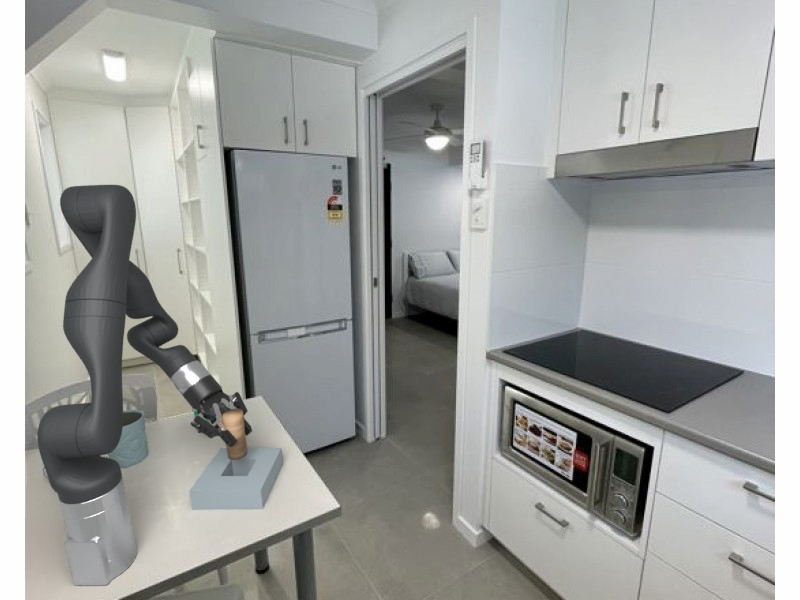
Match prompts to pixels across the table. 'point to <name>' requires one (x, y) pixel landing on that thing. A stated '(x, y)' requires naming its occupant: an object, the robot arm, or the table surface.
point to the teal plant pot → (131, 440)
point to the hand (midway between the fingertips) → (242, 438)
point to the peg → (236, 433)
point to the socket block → (237, 480)
